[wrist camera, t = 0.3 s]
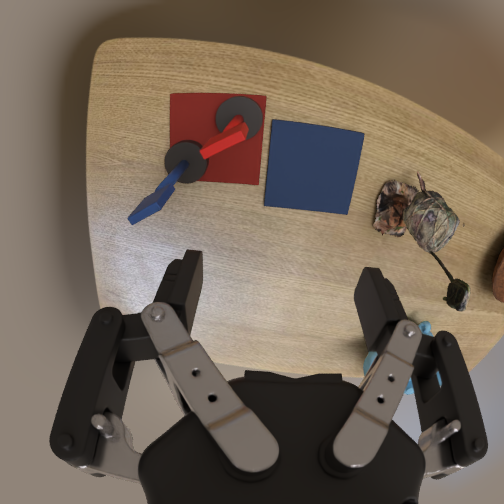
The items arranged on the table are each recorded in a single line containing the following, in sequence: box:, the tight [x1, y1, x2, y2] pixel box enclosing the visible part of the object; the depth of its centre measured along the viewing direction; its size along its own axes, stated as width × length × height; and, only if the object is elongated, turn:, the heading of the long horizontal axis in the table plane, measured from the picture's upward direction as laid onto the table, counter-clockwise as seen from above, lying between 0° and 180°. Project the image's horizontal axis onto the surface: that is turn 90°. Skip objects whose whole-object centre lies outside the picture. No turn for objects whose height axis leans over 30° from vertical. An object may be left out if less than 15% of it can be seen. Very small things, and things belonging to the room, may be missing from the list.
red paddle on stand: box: [200, 96, 263, 159], centre depth 26 cm, size 6×6×16 cm
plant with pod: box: [373, 171, 470, 311], centre depth 30 cm, size 8×11×20 cm
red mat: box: [170, 93, 266, 185], centre depth 35 cm, size 12×12×1 cm
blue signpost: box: [127, 140, 209, 225], centre depth 29 cm, size 6×6×16 cm
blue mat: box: [264, 119, 364, 215], centre depth 36 cm, size 12×12×1 cm
